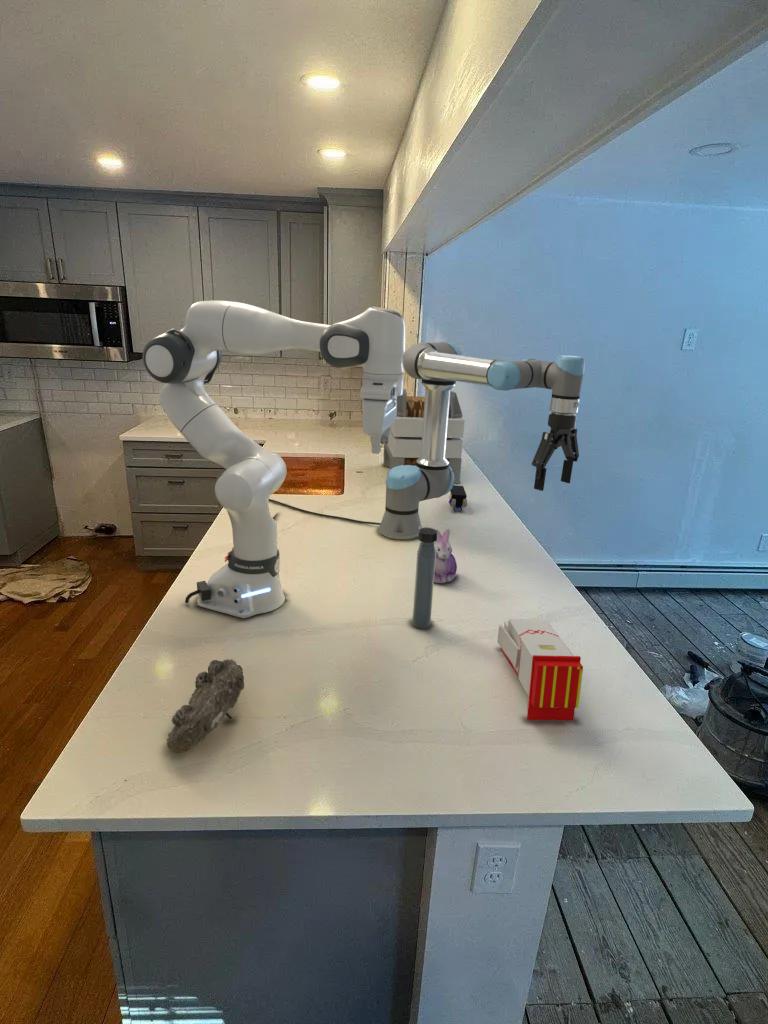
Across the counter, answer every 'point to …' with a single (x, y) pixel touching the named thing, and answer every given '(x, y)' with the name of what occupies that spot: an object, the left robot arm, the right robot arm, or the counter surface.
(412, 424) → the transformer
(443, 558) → the figurine
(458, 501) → the figurine character
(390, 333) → the left robot arm
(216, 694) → the fossil
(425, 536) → the cap
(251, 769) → the counter surface
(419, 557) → the bottle
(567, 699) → the toy
